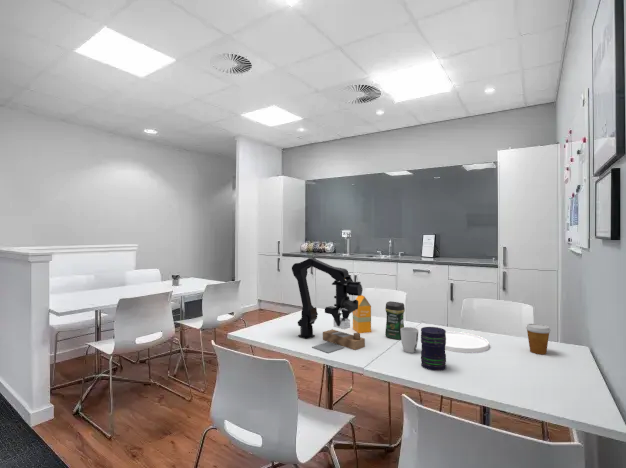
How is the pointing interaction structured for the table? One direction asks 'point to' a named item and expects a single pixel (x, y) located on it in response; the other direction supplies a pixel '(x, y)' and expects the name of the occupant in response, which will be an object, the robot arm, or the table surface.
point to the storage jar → (433, 348)
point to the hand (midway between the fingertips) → (341, 325)
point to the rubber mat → (328, 347)
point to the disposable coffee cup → (538, 338)
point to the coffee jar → (394, 319)
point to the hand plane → (344, 339)
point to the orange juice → (362, 316)
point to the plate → (465, 342)
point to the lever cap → (343, 323)
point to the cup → (409, 339)
